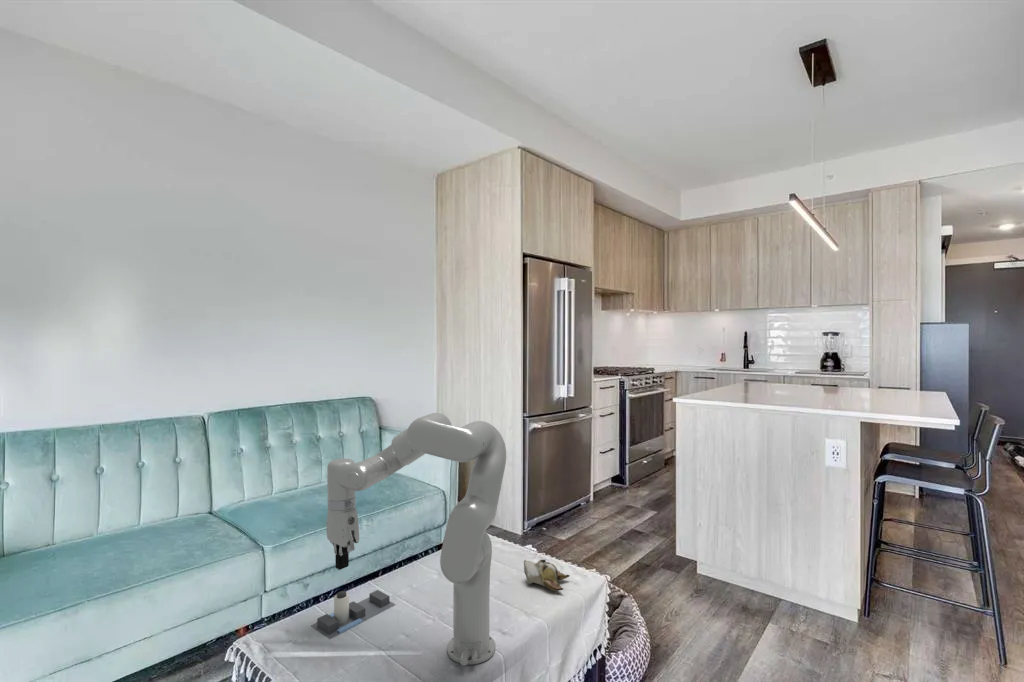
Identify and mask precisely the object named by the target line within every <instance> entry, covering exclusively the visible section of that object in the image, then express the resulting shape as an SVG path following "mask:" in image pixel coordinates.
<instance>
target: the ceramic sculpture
mask: <svg viewBox="0 0 1024 682" xmlns="http://www.w3.org/2000/svg"><path fill="white" fill-rule="evenodd" d="M523 571H524V575H525V578H526V583H527V585H532V584H533V583H534V584H537V585H540V586H543V587H545V588H547V589H549V590H550V591H554V592H555V591H557V592H558V591H563V590H564V588H563V587H562V586H561V584H560V583H559V582H558V581H562V580H565V579H567V578H569V577H570V574H564V573H563V572H561V571H559V570H558V568H557V566H556V565H555V564H553V563H551V562H548V561H546V559H539V560H538V561H537V562H536V563H534V561H533V562H532V561H531V560H526V559H524V560H523Z"/></svg>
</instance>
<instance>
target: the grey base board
mask: <svg viewBox="0 0 1024 682" xmlns="http://www.w3.org/2000/svg"><path fill="white" fill-rule="evenodd" d="M368 595H369V597H367V598H364V599H363V600H361V601H359V602H355V601H352V602H349V622H348V623H346V624H344V625H339V621H337V620H336V619H334V612H332V613H330V614H329V613H326V614H323V615H321V616H320V617H317V620H316V621H317V622H315V623H313V624H311V625H310V627H311V628H313V629H315V630H316V631H318V632H319V633H321V635H323V636H325V638H327V639H329V640H331V639H334V638H336V637H338V636H339V635H341V634H342V633H345V632H347V631H349V630H351V629H353V628H355V627H356V626H358V625H360V624H362V623H365V622H367V620H369V619H371V618H373V617H376V616H378V615H379V614H381V613H383V612H385V611H387V610H389V609H391V608H393V607H394V606H396V605H397V604H395V603H394V602H392V601H391V598H390V595H388V594H387V593H384V592H382V591H381V590H379V589H376V590H374V591H372V592H370V593H369V594H368Z"/></svg>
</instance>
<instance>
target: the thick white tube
mask: <svg viewBox="0 0 1024 682" xmlns="http://www.w3.org/2000/svg"><path fill="white" fill-rule="evenodd" d="M333 598H334V599H333V607H334V610H333V613H334V619H336V620H337V621H339V625H344V624H346V623H348V622H349V603H350V593H348V592H347V591H345V590H340V591H338V592H337V593H336V594H335V595H334V596H333Z"/></svg>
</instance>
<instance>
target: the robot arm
mask: <svg viewBox="0 0 1024 682" xmlns="http://www.w3.org/2000/svg"><path fill="white" fill-rule="evenodd" d="M426 454H427V455H430V456H434V457H438V458H441V459H445V460H449V461H454V462H458V463H468V462H471V461H474V462H473V466H472V468H471V472H470V475H469V481H468V484H467V490H466V493H465V496H464V497H463V498H462V499H461V500H460V501H459V502H458V503H457V504H455V506H454V507H453V508H452V510H451V512H450V514H449V516H448V518H447V523H446V528H445V532H444V537H443V543H442V546H441V551H440V558H439V564H440V569H441V573H442V575H443V576H444V578H445V579H446V580H447V581H448V582H451V583H452V584H453V588H452V589H453V593H452V594H453V596H452V597H453V599H452V600H453V601H452V602H453V603H452V604H453V622H452V623H453V624H452V625H453V627H452V630H453V632H452V633H453V635H452V636H453V637H452V638H451V639H450V640H449V641H448V643H447V648H446V649H447V654H448V656H449V658H450V659H451V661H454V662H455V663H458V664H460V665H461V666H467V665H470V666H471V665H477V664H481V663H484V662H486V661H487V660H489V659H490V658H492V656H493V655H494V654H495V652H496V642H495V640H494V638H493V637H492V636H490V591H491V589H490V587H491V586H490V584H491V582H490V580H491V579H490V577H491V575H490V574H491V566H492V565H491V564H492V555H493V545H492V540H491V537H490V535H489V533H488V532H487V531H486V530H487V529H488V528H489V527H490V526H491V524H492V523H493V522H494V521H495V519H496V516H497V510H498V504H499V499H500V495H501V492H502V491H501V490H502V484H503V479H504V473H505V469H506V462H507V448H506V443H505V441H504V437H503V436H502V434H501V433H500V432H499V430H498V429H497V427H495V426H494V425H493V424H491V423H489V422H487V421H483V420H482V421H481V420H476V421H473V422H469V423H468V424H465V425H463V426H461V427H458V426H455V425H452V421H451V420H450V419H449V418H448V416H447V415H445V414H443V413H440V412H432V413H429V414H426V415H423V416H421V417H417V418H416V419H414V420H413V421H412V422H411V423H410V424H409V426H408V428H406V429H404V430H403V431H401V432H400V433H399V434H397V435H395V436H394V437H393V438H392V440H391V444H390V445H389V446H387V447H386V448H384V449H382V450H381V451H380V452H378V453H376V454H375V455H372V456H370V457H368V458H366V459H363V460H362V461H359V462H355V461H354V459H350V458H338V459H337V458H336V459H332V460H331V461H329V463H328V464H327V466H326V467H327V468H326V469H327V471H326V474H327V475H326V476H327V477H326V478H327V484H326V485H327V489H326V491H327V513H326V515H327V516H326V538H327V540H328V541H329V542H330V544H331V545H332V546H333V551H334V554H335V559H334V560H335V569H336V570H339V571H341V570H343V569H345V568H347V567H349V565H350V564H349V562H350V560H349V558H350V557H349V555H350V552H354V551H355V549H356V548H355V544H358V543H359V542H360V526H359V517H358V511H357V508H356V492H360V491H361V492H362V491H365V490H367V489H368V488H370V487H372V486H374V485H376V484H378V483H379V482H381V481H384V480H386V479H387V478H389V477H390V476H392V475H393V474H395V473H396V472H398V471H400V470H401V469H402V468H404V467H406V466H408V465H410V464H412V463H414V462H415V461H417V460H418V459H419V458H421V457H424V455H426Z"/></svg>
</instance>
